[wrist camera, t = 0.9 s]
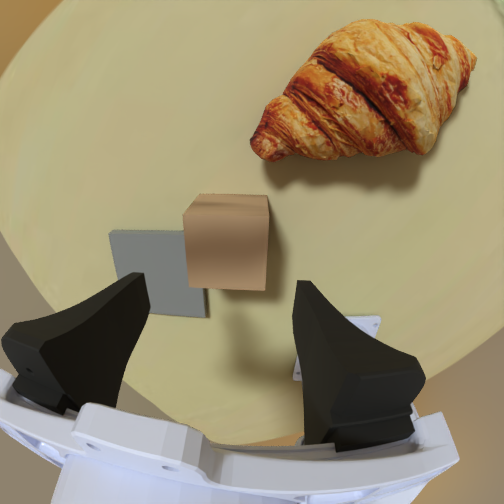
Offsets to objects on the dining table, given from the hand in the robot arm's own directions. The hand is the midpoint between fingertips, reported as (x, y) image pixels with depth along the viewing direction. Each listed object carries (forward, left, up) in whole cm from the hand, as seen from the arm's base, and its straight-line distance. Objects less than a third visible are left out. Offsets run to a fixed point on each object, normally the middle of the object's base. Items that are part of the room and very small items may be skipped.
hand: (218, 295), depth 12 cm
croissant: (+11, -10, -10) cm, 18 cm away
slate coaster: (-5, +7, -9) cm, 12 cm away
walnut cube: (0, 0, -10) cm, 10 cm away
